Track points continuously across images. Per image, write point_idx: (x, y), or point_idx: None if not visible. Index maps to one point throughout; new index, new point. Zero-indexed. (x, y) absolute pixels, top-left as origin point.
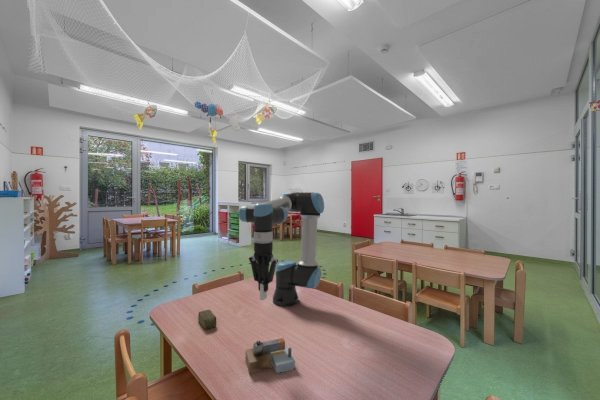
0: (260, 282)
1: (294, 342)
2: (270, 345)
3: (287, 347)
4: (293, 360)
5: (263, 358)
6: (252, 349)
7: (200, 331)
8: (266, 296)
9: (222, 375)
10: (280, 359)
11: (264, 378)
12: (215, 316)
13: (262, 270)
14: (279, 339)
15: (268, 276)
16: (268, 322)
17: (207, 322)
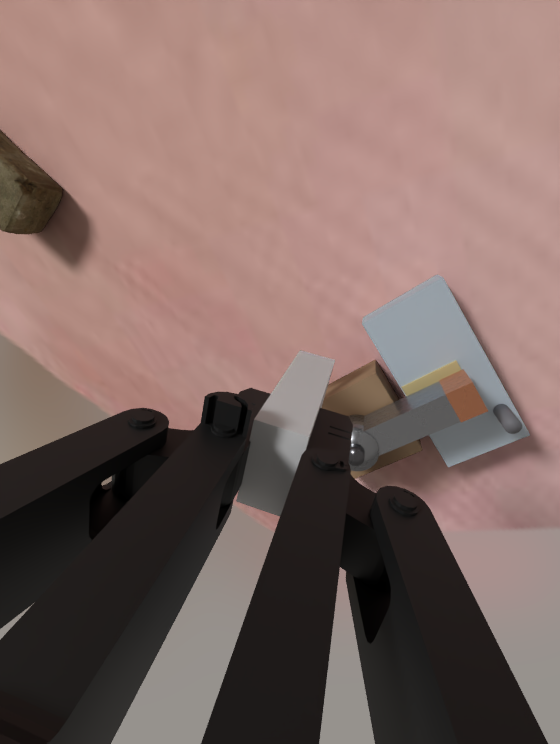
0: (232, 495)
1: (500, 229)
2: (413, 439)
3: (482, 349)
4: (522, 433)
5: (389, 456)
6: (323, 408)
7: (36, 250)
8: (332, 367)
9: None
10: (459, 434)
11: (404, 474)
12: (18, 175)
13: (150, 622)
14: (453, 396)
15: (374, 686)
16: (298, 45)
17: (22, 227)
